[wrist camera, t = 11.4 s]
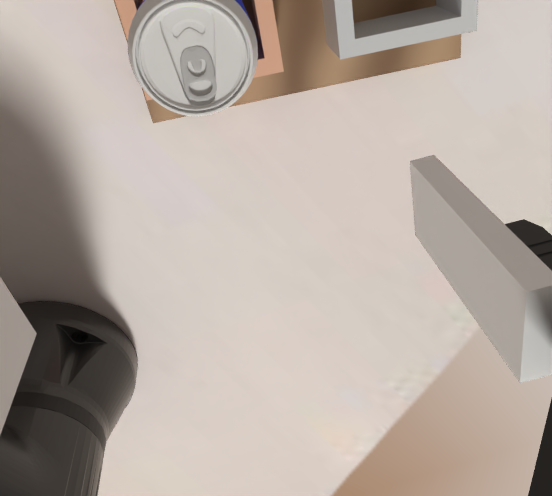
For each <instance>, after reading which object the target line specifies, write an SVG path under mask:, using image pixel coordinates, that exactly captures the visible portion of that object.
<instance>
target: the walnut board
mask: <svg viewBox="0 0 552 496" xmlns="http://www.w3.org/2000/svg"><path fill="white" fill-rule="evenodd" d="M272 1H273V7H274V14H275V20H276V26H277V32H278V38H279V44H280V51H281V57H282V63H283V69H284V72H279V73H275V74H270V75H265V76H261V77H256V78H253V79H252V81H251V83H250V85H249V87H248V88H247V90H246V91H245V93H244V94H243V95H242V96H241V97H240V98H239V99H238V100H237V101H236V102H235V103H233V104H232V105H231V106H236V105H241V104H245V103H250V102H255V101H260V100H264V99H269V98H274V97H278V96H283V95H288V94H292V93H297V92H302V91H307V90H311V89H316V88H321V87H325V86H330V85H335V84H339V83H344V82H349V81H354V80H358V79H363V78H368V77H372V76H377V75H382V74H387V73H391V72H396V71H401V70H405V69H410V68H415V67H419V66H424V65H429V64H434V63H438V62H443V61H448V60H452V59H457V58H460V55H461V34H458V35H454V36H449V37H444V38H440V39H435V40H430V41H425V42H421V43H416V44H411V45H407V46H402V47H397V48H392V49H388V50H383V51H378V52H374V53H369V54H364V55H360V56H355V57H350V58H345V59H341V60H340V59H339V58H338V57H337V55H336V54H335V53H334V52H333V51H332V50H331V49H330V48H329V47H328V45H327V41H326V32H325V23H324V15H323V6H322V0H272ZM114 2H115V0H114ZM242 2H243V5H244V7H245V9H246V11H247V14H248V16H249V18H250V21H251V23H252V26H253V28H254V31H255V34H256V39H257V44H258V38H257V33H256V27H255V22H254V16H253V11H252V6H251V0H242ZM115 6H116V3H115ZM432 6H436V0H352V10H353V22H354V23H357V22H362V21H366V20H371V19H376V18H380V17H385V16H390V15H395V14H399V13H404V12H409V11H413V10H418V9H423V8H428V7H432ZM116 9H117V6H116ZM117 12H118V9H117ZM118 15H119V12H118ZM119 18H120V15H119ZM120 21H121V18H120ZM121 24H122V22H121ZM122 27H123V25H122ZM123 31H124V28H123ZM124 34H125V31H124ZM125 37H126V34H125ZM126 40H127V37H126ZM127 43H128V40H127ZM142 90H143V88H142ZM143 93H144V91H143ZM144 96H145V94H144ZM145 99H146V97H145ZM146 103H147V106H148V109H149V112H150V115H151V118H152V121H153V123H156V122H161V121H165V120H170V119H175V118H180V117H184V116H186V115H181V114H177V113H175V112H172V111H170V110H168V109H166V108H164V107H163V106H161V105H160V104H158V103H157V102H156V101H154V100H153V99H152V100H148V101H147V100H146ZM231 106H229V107H231Z"/></svg>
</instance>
